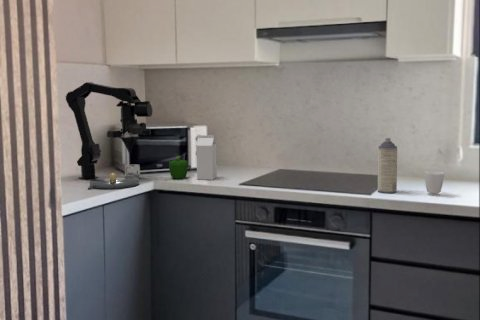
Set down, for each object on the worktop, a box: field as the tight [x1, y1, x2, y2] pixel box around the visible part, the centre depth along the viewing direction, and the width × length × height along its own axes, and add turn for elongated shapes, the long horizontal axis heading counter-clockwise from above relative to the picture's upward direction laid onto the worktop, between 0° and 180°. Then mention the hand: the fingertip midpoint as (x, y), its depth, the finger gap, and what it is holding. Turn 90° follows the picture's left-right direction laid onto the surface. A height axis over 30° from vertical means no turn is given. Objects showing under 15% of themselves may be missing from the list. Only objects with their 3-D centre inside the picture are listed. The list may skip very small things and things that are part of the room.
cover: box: [124, 164, 141, 179], centre depth 247 cm, size 6×6×6 cm
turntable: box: [89, 172, 140, 190], centre depth 230 cm, size 20×20×6 cm
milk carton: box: [195, 134, 218, 181], centre depth 242 cm, size 7×7×19 cm
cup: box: [423, 170, 445, 197], centre depth 199 cm, size 7×10×8 cm
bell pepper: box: [168, 156, 189, 180], centre depth 245 cm, size 8×8×10 cm
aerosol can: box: [377, 137, 398, 195], centre depth 204 cm, size 7×7×20 cm
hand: (129, 152), depth 243 cm, fingers closed
